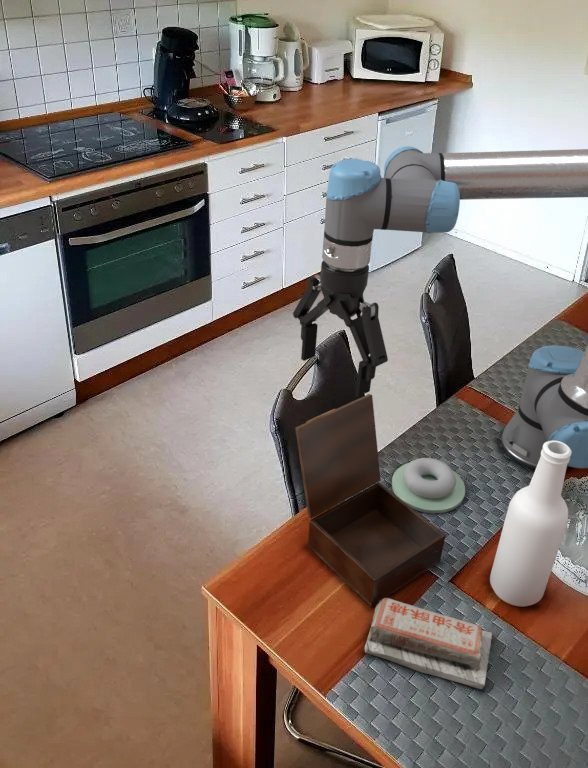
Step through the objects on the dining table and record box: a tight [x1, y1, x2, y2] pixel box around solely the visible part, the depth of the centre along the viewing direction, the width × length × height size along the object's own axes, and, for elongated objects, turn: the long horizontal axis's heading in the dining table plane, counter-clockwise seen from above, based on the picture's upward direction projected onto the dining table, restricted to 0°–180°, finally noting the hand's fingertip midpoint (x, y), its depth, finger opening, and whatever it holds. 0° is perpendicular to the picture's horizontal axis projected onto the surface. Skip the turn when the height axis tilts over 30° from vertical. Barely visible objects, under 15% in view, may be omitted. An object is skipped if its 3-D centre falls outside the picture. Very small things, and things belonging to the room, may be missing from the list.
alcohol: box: [489, 441, 572, 608], centre depth 114 cm, size 9×9×30 cm
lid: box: [294, 393, 382, 520], centre depth 127 cm, size 17×16×5 cm
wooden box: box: [307, 481, 447, 609], centre depth 126 cm, size 16×16×7 cm
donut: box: [403, 457, 456, 499], centre depth 141 cm, size 10×3×10 cm
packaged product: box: [363, 597, 493, 690], centre depth 111 cm, size 18×5×10 cm
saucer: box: [391, 462, 466, 514], centre depth 142 cm, size 14×14×1 cm
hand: (334, 375), depth 127 cm, fingers open, 13 cm apart
